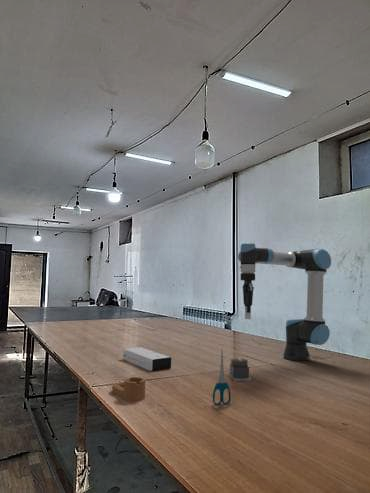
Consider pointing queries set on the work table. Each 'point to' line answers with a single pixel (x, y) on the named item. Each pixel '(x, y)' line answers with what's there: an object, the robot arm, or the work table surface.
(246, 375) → the knob
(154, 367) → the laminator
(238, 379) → the mounting plate
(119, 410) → the work table surface
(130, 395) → the bracket
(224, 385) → the scissors
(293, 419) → the work table surface
